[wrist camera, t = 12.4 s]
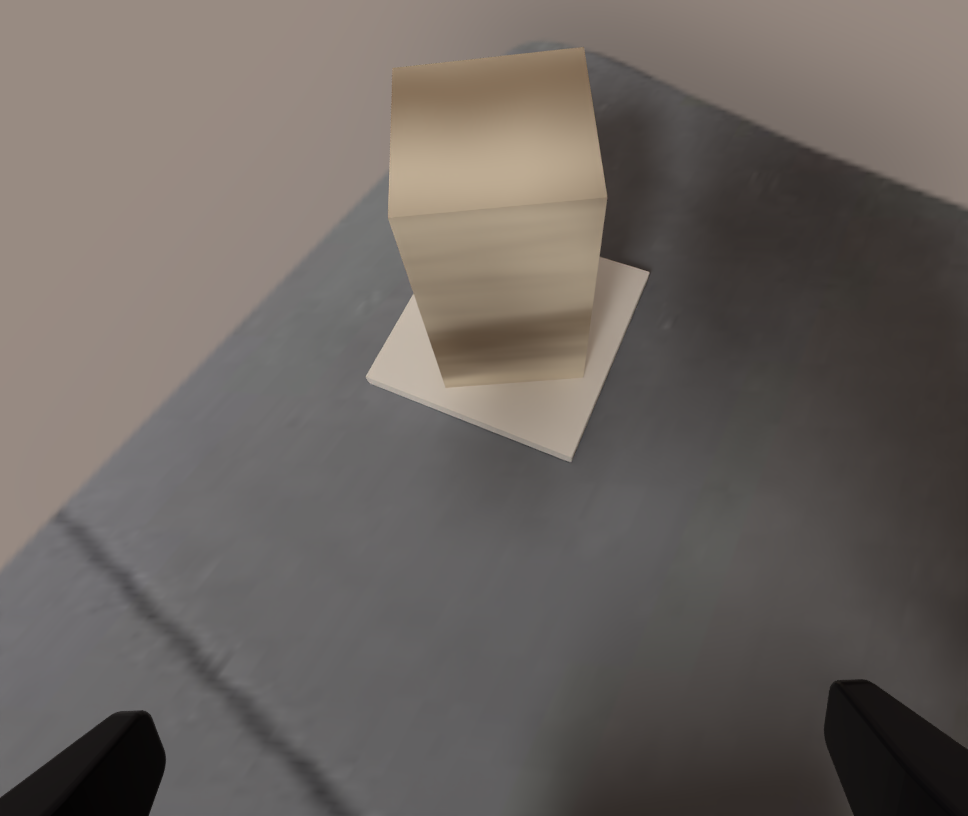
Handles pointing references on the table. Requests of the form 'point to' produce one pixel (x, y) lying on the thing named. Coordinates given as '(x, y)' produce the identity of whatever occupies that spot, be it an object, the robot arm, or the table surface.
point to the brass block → (499, 212)
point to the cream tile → (523, 405)
